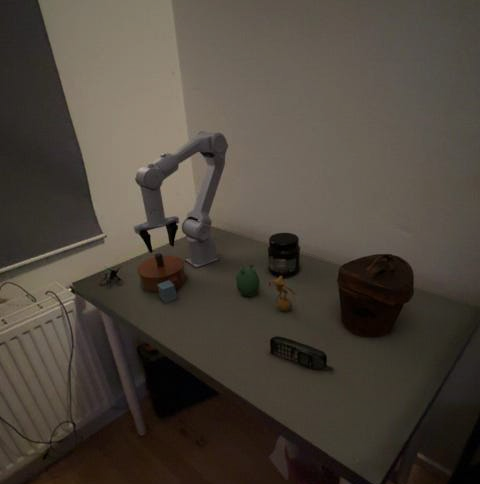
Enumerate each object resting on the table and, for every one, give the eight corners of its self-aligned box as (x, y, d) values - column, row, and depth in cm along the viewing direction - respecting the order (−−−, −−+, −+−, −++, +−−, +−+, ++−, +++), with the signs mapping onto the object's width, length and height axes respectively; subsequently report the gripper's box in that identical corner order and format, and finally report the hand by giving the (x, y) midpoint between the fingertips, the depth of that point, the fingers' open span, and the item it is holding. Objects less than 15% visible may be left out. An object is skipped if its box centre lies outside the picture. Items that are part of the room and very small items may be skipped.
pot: (170, 264, 128) (168, 251, 125) (196, 285, 114) (194, 270, 111) (133, 277, 121) (129, 263, 118) (155, 301, 107) (152, 286, 104)
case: (397, 303, 99) (409, 244, 89) (411, 349, 82) (428, 284, 72) (332, 299, 102) (337, 243, 92) (333, 343, 86) (340, 280, 76)
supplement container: (290, 261, 124) (290, 229, 118) (305, 274, 116) (306, 240, 109) (263, 267, 121) (262, 235, 115) (276, 281, 113) (276, 247, 106)
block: (171, 293, 111) (169, 280, 108) (177, 298, 108) (174, 285, 105) (160, 298, 109) (157, 284, 106) (165, 303, 106) (162, 289, 103)
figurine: (300, 311, 98) (302, 273, 92) (289, 321, 94) (290, 283, 88) (276, 302, 103) (275, 266, 96) (264, 312, 99) (263, 275, 92)
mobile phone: (268, 340, 81) (330, 359, 74) (274, 332, 83) (335, 350, 76) (269, 356, 84) (329, 376, 77) (274, 348, 86) (334, 367, 79)
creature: (121, 290, 117) (128, 274, 122) (115, 278, 113) (123, 262, 118) (98, 290, 117) (106, 274, 123) (92, 279, 114) (101, 263, 119)
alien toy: (246, 285, 112) (245, 257, 107) (264, 293, 107) (263, 264, 102) (231, 294, 108) (228, 265, 103) (249, 303, 103) (247, 273, 98)
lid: (172, 254, 124) (169, 241, 121) (192, 269, 113) (190, 255, 110) (130, 267, 117) (127, 254, 114) (148, 285, 106) (144, 270, 103)
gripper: (136, 216, 102) (145, 258, 109) (180, 206, 109) (186, 246, 116) (128, 210, 107) (137, 251, 114) (171, 201, 114) (177, 240, 121)
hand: (161, 248), depth 115 cm, fingers open, 7 cm apart
